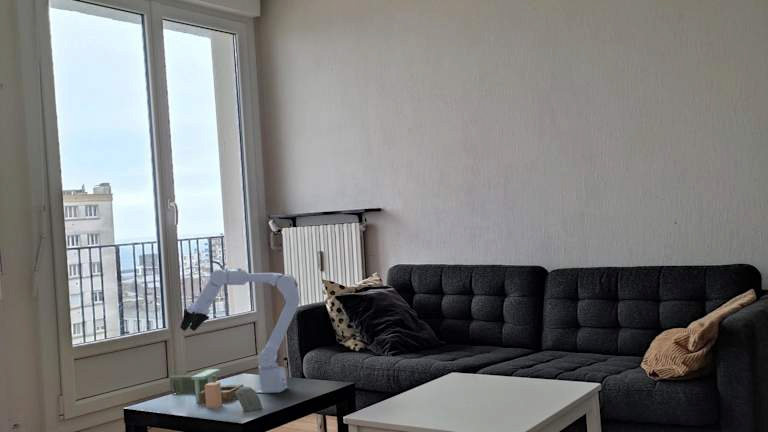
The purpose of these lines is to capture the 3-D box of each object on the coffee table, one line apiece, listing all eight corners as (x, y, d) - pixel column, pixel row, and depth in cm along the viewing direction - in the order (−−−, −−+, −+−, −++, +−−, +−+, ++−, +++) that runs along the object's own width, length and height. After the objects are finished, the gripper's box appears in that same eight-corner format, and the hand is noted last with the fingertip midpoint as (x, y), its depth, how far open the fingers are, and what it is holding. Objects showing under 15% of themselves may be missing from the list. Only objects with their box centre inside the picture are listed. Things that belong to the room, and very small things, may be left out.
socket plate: (243, 393, 296) (243, 384, 296) (229, 401, 285) (228, 392, 285) (214, 394, 299) (213, 385, 299) (199, 402, 288) (198, 393, 288)
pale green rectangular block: (222, 394, 299) (220, 369, 299) (206, 402, 286) (203, 376, 286) (210, 394, 300) (208, 369, 300) (193, 403, 288) (191, 376, 288)
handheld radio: (175, 391, 313) (230, 391, 305) (170, 394, 310) (226, 393, 301) (173, 375, 313) (229, 373, 304) (168, 377, 309) (224, 376, 301)
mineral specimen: (244, 404, 275) (246, 381, 275) (263, 411, 271) (266, 388, 270) (229, 409, 269) (232, 386, 268) (249, 416, 265) (251, 392, 264)
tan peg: (222, 404, 281) (220, 382, 281) (216, 407, 277) (214, 384, 277) (211, 405, 282) (209, 382, 282) (206, 408, 278) (204, 385, 278)
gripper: (206, 293, 305) (188, 324, 305) (189, 291, 291) (169, 323, 291) (220, 303, 303) (202, 334, 303) (204, 301, 289) (184, 333, 289)
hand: (187, 329), depth 297 cm, fingers open, 7 cm apart
